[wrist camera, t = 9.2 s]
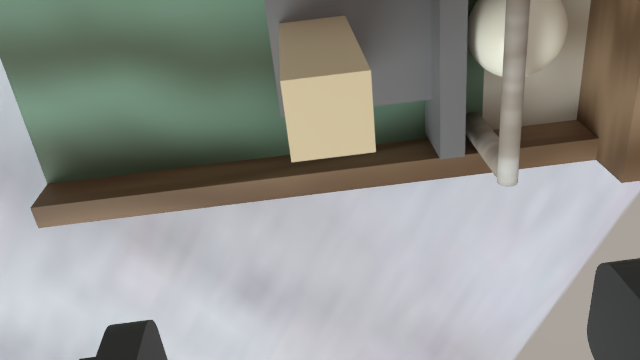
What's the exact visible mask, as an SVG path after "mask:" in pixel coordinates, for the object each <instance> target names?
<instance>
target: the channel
mask: <svg viewBox="0 0 640 360" xmlns="http://www.w3.org/2000/svg"><path fill="white" fill-rule="evenodd" d="M477 1H478V0H468V19H469V16H470V13H471V11H472V9H473V7H474V5H475V4H476V2H477ZM561 1H562V3H563V5H564V7H565V10H566V14H567V20H568V28H567V35H566V39H565V42H564V44H563V47H562V48H561V50H560V52H559V54H558V55H557V56H556V58H555V59H554V60H553V61H552V62H551V63H550V64H549V65H548V66H546V67H545V68H543V69H542V70H540V71H538V72H536V73H534V74H532V75H528V76H525V70H526V56H527V42H528V28H529V14H530V0H506V14H505V34H504V53H503V73H502V77H501V76H498V75H495V74H492V73H491V72H489V71H487V70H485V69H484V68H483V67H482V66H481V65H480V64H479V63H478V62H477V61H476V60H475V58H474V57H473V55H472V53H471V51H470V49H469V46H468V42H467V79H466V129H465V156H464V157H456V158H448V159H440V158H439V156H438V154H437V153H436V151H435V149H434V147H433V146H432V144H431V142H430V140H429V139H428V137H427V135H426V133H425V100H422V101H413V102H405V103H397V104H388V105H380V106H373V112H374V128H375V144H376V152H373V153H365V154H356V155H348V156H340V157H332V158H324V159H315V160H307V161H299V162H291V155H290V148H289V141H288V134H287V127H286V120H285V117H281V114H280V107H279V100H278V93H277V86H276V79H275V72H274V65H273V58H272V51H271V45H270V38H269V31H268V24H267V17H266V10H265V3H264V0H0V58H1V61H2V63H3V66H4V69H5V71H6V74H7V77H8V79H9V82H10V85H11V87H12V90H13V93H14V95H15V98H16V101H17V103H18V106H19V109H20V111H21V114H22V117H23V120H24V122H25V125H26V128H27V130H28V133H29V136H30V138H31V141H32V144H33V146H34V149H35V152H36V154H37V157H38V160H39V162H40V165H41V168H42V170H43V173H44V176H45V178H46V181H47V186H46V187H45V188H44V190H43V191H42V193H41V194H40V195H39V197H38V198H37V200H36V201H35V202H34V204H33V205H32V207H31V211H32V213H33V216H34V218H35V221H36V223H37V226H38V228H43V227H51V226H59V225H67V224H75V223H83V222H92V221H100V220H108V219H116V218H124V217H132V216H141V215H149V214H157V213H165V212H173V211H181V210H190V209H198V208H206V207H214V206H222V205H230V204H239V203H247V202H255V201H263V200H271V199H279V198H288V197H296V196H304V195H312V194H320V193H328V192H336V191H345V190H353V189H361V188H369V187H377V186H385V185H394V184H402V183H410V182H418V181H426V180H434V179H443V178H451V177H459V176H467V175H475V174H483V173H492V172H493V173H494V175H495V176H496V177H497V183H498V184H499V185H502V186H507V187H510V186H514V185H516V184H517V183H518V170H519V169H524V168H532V167H541V166H549V165H557V164H565V163H573V162H581V161H590V160H597V161H598V162H599V163H600V164H601V165H603V166H604V167H605V168H606V169H607V170H608V171H609V172H610V173H611V174H612V175H614V176H615V177H616V178H617V179H618V180H619V181H620V182H621V183H624V182H632V181H640V0H561Z"/></svg>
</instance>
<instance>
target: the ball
mask: <svg viewBox="0 0 640 360" xmlns="http://www.w3.org/2000/svg"><path fill="white" fill-rule="evenodd" d="M505 14H506V0H478V1H477V2H476V4H475V5H474V7H473V9H472V11H471V13H470V16H469V19H468V30H467V42H468V46H469V49H470V51H471V53H472V55H473V57H474V58H475V60H476V61H477V62H478V63H479V64H480V65H481V66H482V67H483V68H484V69H485V70H487V71H489V72H491V73H492V74H495V75H498V76H501V77H502V73H503V53H504V34H505ZM567 28H568V20H567V14H566V10H565V7H564V5H563V3H562V1H561V0H530V14H529V28H528V42H527V56H526V70H525V76H528V75H532V74H534V73H536V72H538V71H540V70H542V69H543V68H545V67H546V66H548V65H549V64H550V63H551V62H552V61H553V60H554V59H555V58H556V56H557V55H558V54H559V52H560V50H561V48H562V47H563V44H564V42H565V39H566V35H567Z"/></svg>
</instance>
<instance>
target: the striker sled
mask: <svg viewBox="0 0 640 360" xmlns="http://www.w3.org/2000/svg"><path fill="white" fill-rule="evenodd" d="M264 3H265V10H266V17H267V24H268V31H269V38H270V45H271V51H272V58H273V65H274V72H275V79H276V86H277V93H278V100H279V107H280V114H281V117H285V120H286V127H287V134H288V141H289V148H290V155H291V162H299V161H307V160H315V159H324V158H332V157H340V156H348V155H356V154H365V153H373V152H376V144H375V128H374V112H373V106H380V105H388V104H397V103H405V102H413V101H422V100H425V133H426V135H427V137H428V139H429V140H430V142H431V144H432V146H433V147H434V149H435V151H436V153H437V154H438V156H439V158H440V159H448V158H456V157H464V156H465V129H466V79H467V30H468V0H264Z"/></svg>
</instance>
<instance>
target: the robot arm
mask: <svg viewBox="0 0 640 360" xmlns="http://www.w3.org/2000/svg"><path fill="white" fill-rule="evenodd" d="M587 336H588V342H589V346H590V349H591V352H592V355H593V357H594V359H595V360H640V258H638V259H630V260H623V261H615V262H607V263H602V264H600V265H599V266H598V267H597V270H596V274H595V280H594V287H593V293H592V299H591V305H590V312H589V318H588V325H587ZM79 360H167V357H166V354H165V350H164V347H163V344H162V341H161V338H160V335H159V332H158V329H157V326H156V324H155V322H154V321H153V320H145V321H137V322H130V323H122V324H114V325H110V326H108V327H107V329H106V330H105V333H104V335H103V338H102V341H101V344H100V347H99V349H98V352H97V355H96V357H91V358H83V359H79Z"/></svg>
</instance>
